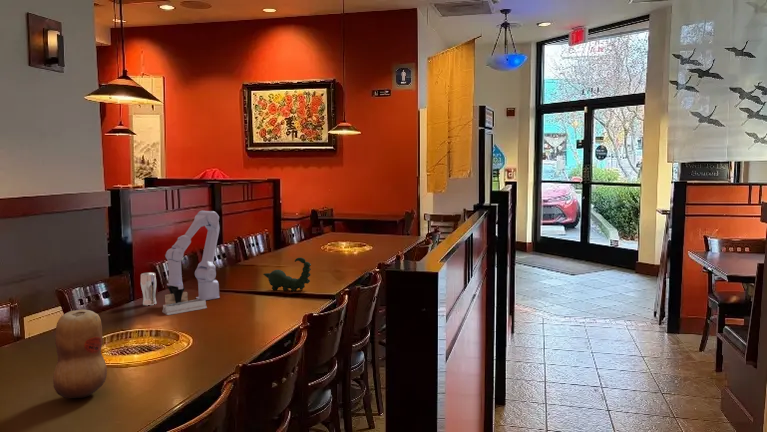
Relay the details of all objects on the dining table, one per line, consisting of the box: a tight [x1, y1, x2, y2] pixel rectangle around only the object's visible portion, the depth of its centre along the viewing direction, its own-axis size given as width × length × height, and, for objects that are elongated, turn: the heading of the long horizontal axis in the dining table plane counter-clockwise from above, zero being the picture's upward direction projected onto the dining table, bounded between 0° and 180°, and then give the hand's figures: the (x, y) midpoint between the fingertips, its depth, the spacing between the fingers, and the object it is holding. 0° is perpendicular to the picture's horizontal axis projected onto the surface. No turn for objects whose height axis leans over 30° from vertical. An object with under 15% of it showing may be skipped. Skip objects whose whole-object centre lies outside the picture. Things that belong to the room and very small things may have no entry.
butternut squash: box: [52, 309, 108, 399], centre depth 157 cm, size 14×13×25 cm
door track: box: [161, 298, 208, 316], centre depth 252 cm, size 18×7×4 cm, turn 129°
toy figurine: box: [262, 257, 312, 292], centre depth 288 cm, size 9×19×25 cm
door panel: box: [164, 291, 189, 305], centre depth 260 cm, size 10×2×6 cm, turn 129°
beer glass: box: [140, 271, 157, 307], centre depth 263 cm, size 7×7×15 cm
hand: (176, 301), depth 260 cm, fingers open, 4 cm apart
